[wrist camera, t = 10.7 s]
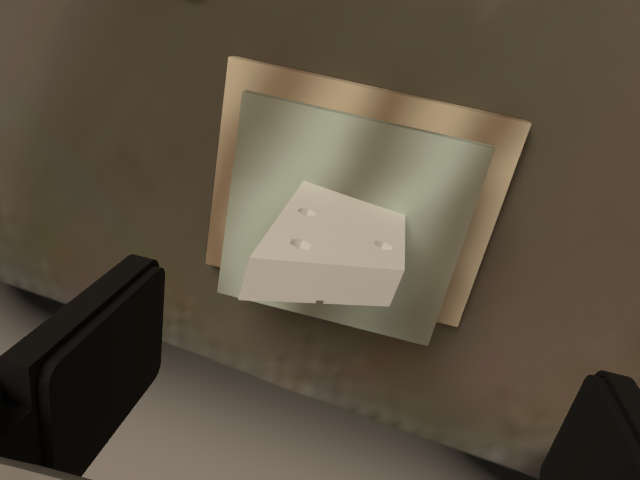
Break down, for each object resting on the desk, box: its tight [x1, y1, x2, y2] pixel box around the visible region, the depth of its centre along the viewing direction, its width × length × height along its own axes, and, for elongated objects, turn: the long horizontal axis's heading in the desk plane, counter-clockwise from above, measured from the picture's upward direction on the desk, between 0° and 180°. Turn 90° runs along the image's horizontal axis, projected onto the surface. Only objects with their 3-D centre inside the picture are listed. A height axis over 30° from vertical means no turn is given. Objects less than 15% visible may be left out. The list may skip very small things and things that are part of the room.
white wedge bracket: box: [238, 181, 405, 306], centre depth 24 cm, size 4×10×9 cm, turn 73°
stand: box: [205, 56, 531, 346], centre depth 30 cm, size 18×14×6 cm
